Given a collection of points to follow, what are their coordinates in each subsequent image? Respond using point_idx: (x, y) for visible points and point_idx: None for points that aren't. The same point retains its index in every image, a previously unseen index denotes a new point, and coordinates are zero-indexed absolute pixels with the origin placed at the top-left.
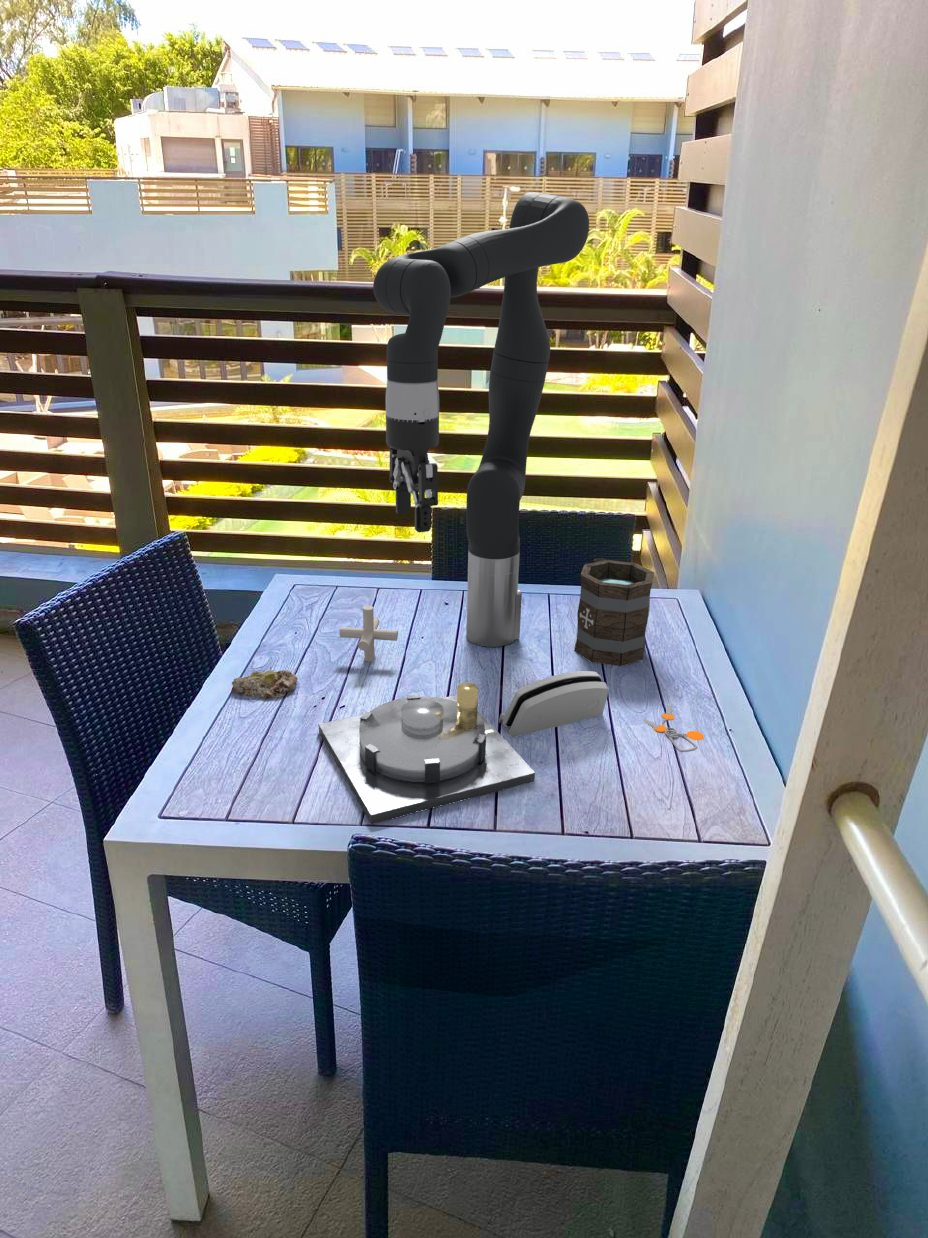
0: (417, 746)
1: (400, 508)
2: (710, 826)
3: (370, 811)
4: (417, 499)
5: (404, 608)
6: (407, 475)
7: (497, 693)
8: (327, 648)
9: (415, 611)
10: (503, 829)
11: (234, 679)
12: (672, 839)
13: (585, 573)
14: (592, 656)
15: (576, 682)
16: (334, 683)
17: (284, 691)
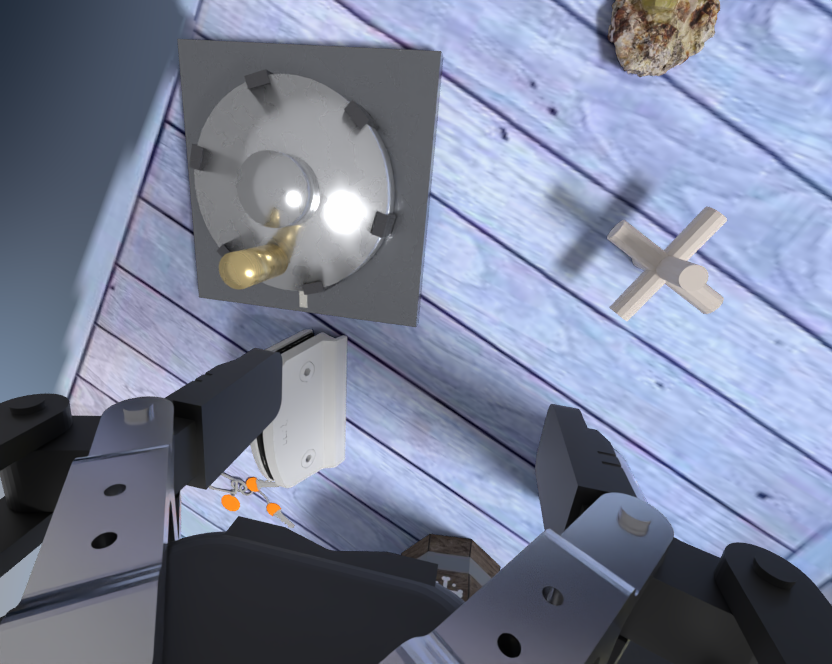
0: (241, 156)
1: (550, 433)
2: (93, 399)
3: (184, 41)
4: (98, 429)
5: (807, 423)
6: (52, 563)
7: (416, 379)
8: (747, 201)
9: (776, 433)
10: (138, 206)
11: None
12: (84, 355)
13: None
14: (429, 541)
15: (260, 444)
16: (594, 154)
17: (610, 33)
